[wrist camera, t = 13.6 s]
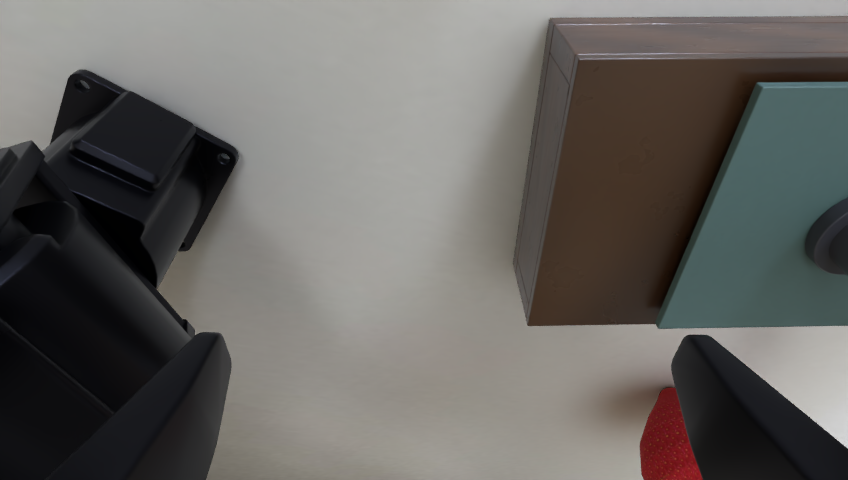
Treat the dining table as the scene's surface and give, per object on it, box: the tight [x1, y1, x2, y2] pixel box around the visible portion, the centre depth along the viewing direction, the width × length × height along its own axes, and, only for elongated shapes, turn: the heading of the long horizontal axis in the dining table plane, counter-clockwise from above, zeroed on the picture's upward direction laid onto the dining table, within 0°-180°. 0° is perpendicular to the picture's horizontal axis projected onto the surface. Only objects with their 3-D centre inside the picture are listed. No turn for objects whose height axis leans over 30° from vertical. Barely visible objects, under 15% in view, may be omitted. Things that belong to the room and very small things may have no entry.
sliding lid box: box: [513, 16, 848, 326], centre depth 21 cm, size 24×12×4 cm, turn 90°
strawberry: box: [640, 387, 703, 480], centre depth 30 cm, size 6×8×10 cm
